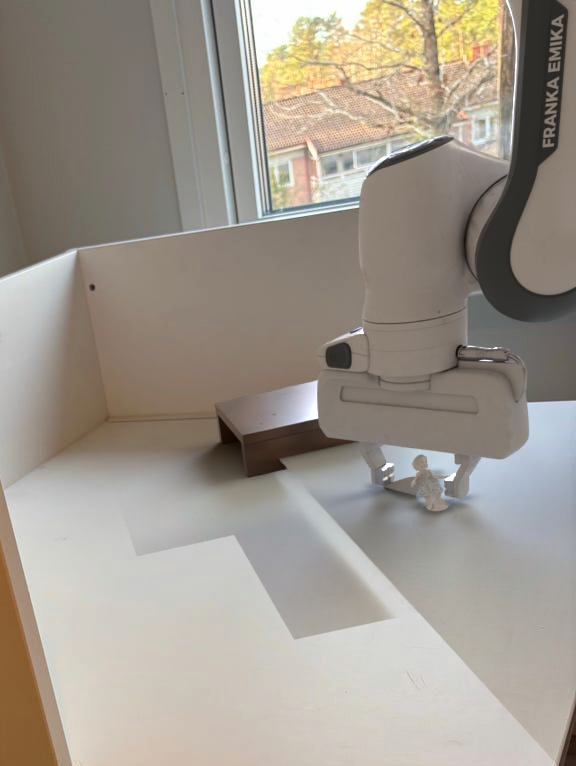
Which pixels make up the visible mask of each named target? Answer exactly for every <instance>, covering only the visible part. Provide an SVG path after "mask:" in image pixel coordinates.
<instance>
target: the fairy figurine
mask: <svg viewBox="0 0 576 766" xmlns="http://www.w3.org/2000/svg"><path fill="white" fill-rule="evenodd" d="M411 465H412V468H413V469H414V470H415V471H417V472H416V474H415V475H414V476H409V477H404V478H401V479H397V480H394V481H393V482H392V483H391V484H388V485H387V486H383V485H382V487H383V488H386V489H389V490H393V491H397V492H401V493H405V494H408V495H412V496H417V494H418V495H420V497H422V498H423V499H424V500H425V505H423V508H426V509H427V510H428V511H432V512H440V511H441V512H442V511H445V510H447V509H448V508H449V504H448V501H447V500H444V499H442V493H443V492H444V488H443V487H442V485H441V484H440V481H439V480H444V479H446V478H448V477H451V475H448V474H447V475H442V474H438V473H435V472H434V471H433V470H431V468H429V464H428V457H427V456H426V455H425V454H423V453H422V454H418V455H416V456H415V458H413V460H412V463H411Z"/></svg>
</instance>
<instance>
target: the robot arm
mask: <svg viewBox="0 0 576 766" xmlns="http://www.w3.org/2000/svg"><path fill="white" fill-rule="evenodd" d="M505 2H506V4H507V6H508V9H509V12H510V16H511V20H512V24H513V30H514V39H515V71H514V74H515V75H514V90H513V106H512V121H511V137H510V152H509V153H510V154H509V160H508V159H505V158H501V157H497V156H494V155H491V154H488V153H486V152H483V151H481V150H479V149H476V148H474V147H472V146H469V145H467V144H466V143H464V142H462V141H460V140H459V139H458V138H457V137H456V136H454V135H439V136H433V137H430V138H429V139H422V140H420V141H417V142H413V143H410V144H408V145H405V146H403V147H401V148H398V149H396V150H393V151H392V152H390V153H389V154H385V155H384V156H382V157H381V158H380V159H379V160H377V161H376V162H375V163H374V164H373V165H372V166H371V167H370V168H369V170H368V172H367V173H366V174H365V176H364V178H363V181H362V184H361V188H360V194H359V204H358V229H357V230H358V232H357V233H358V263H359V270H360V273H361V276H362V278H363V279H362V280H363V283H364V290H365V291H364V293H365V294H364V301H363V306H362V311H361V323H362V324H361V325H362V326H359V327H357V328H355V329H353V330H351V331H350V332H347V333H345V334H342V335H340V336H338V337H336V338H334V339H331V340H330V341H328V342H326V343H324V344H323V345H321V346H320V347H318V348H317V351H316V355H317V356H316V357H317V358H316V359H317V363H318V366H319V367H320V368H322V369H323V370H322V371H321V372H320V374H319V375H318V378H317V380H318V383H317V411H318V422H319V426H320V428H321V429H322V431H323V432H324V434H325V435H326V436H327V437H329V438H337V439H345V440H353V441H357V442H358V446H359V453H360V455H361V456H362V458H363V459H364V461H365V463H366V464H367V466H368V468H369V469H370V479H371V484H372V485H376V486H382V487H383V486H387V485H388V484H391V483H392V482H394V481H395V474H394V472H395V464H394V463H388V462H387V460H386V457H385V455H384V453H383V451H382V449H381V448H382V447H383V446H393V447H400V448H407V449H413V450H414V449H415V450H423V451H431V452H438V453H444V454H445V453H447V454H452V455H454V464H455V465H458V466H459V465H460V466H459V467H458V469H457V471H456V472H454V473H453V474H451V475H450V477H448V478H444V479H443V484H444V485H443V487H444V489H445V490H443V492H444V496H445V497H447V498H454V499H459V500H460V499H462V498H464V497H465V496H467V495H468V493H469V490H470V476H471V475H472V473H473V472H474V471H475V469H476V467H477V466H478V464H479V463H480V461H481V460H482V458H483V459H484V458H485V459H490V460H491V459H492V460H500V461H501V460H506V459H507V458H509V457H511V456H513V455H514V454H515V453H518V451H520V450H521V449H522V448H523V447H524V446H525V445H526V443H528V440H529V438H530V437H529V436H530V421H529V408H528V400H527V399H528V398H527V393H526V391H527V387H528V367H527V364H526V362H525V361H524V360H523V359H522V358H521V357H520V356H518V355H517V354H515V353H513V352H512V350H511V349H510V348H508V347H507V348H506V347H502V346H501V347H499V346H498V347H494V348H491V347H483V346H474V345H468V297H469V296H470V295H471V294H472V293H474V292H476V291H481V292H482V295H483V296H484V298H485V299H486V301H487V302H488V303H489V304H490V306H491V307H493V308H494V309H495V310H496V311H497V312H499V313H500V314H502V315H503V316H505V317H507V318H510V319H511V320H515V321H519V322H523V323H532V324H533V323H537V324H539V323H547V322H552V321H556V320H559V319H562V318H565V317H567V316H570V315H572V314H574V313H576V0H505Z"/></svg>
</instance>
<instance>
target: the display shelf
mask: <svg viewBox="0 0 576 766" xmlns="http://www.w3.org/2000/svg"><path fill="white" fill-rule="evenodd" d="M317 383H318V379H317V380H313V381H307V382H304V383H299V384H295V385H290V386H285V387H282V388H277V389H273V390H268V391H264V392H260V393H255V394H250V395H245V396H242V397H237V398H233V399H227V400H223V401H218V402H215V403H214V408H215V415H216V416H215V417H216V423H217V430H218V438H219V443H221V444H227V443H233V442H237V441H239V442H240V444H241V445H240V446H241V452H242V453H241V454H242V459H243V460H242V461H243V467H244V469H243V470H244V474H245V476H246V477H247V478H250V477H255V476H259V475H263V474H269V473H273V472H278V471H282V470H286V469H288V467H287V466H286V465H285V464H284V463H283V462H282V459H285V458H289V457H294V456H299V455H304V454H307V453H308V454H309V453H313V452H316V451H321V450H326V449H331V448H334V447H339V446H344V445H348V444H353V443H357V442H358V441H353V440H345V439H337V438H329V437H327V436H326V435H325V434H324V432H323V431H322V429H321V428H320V426H319V422H318V411H317Z"/></svg>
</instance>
